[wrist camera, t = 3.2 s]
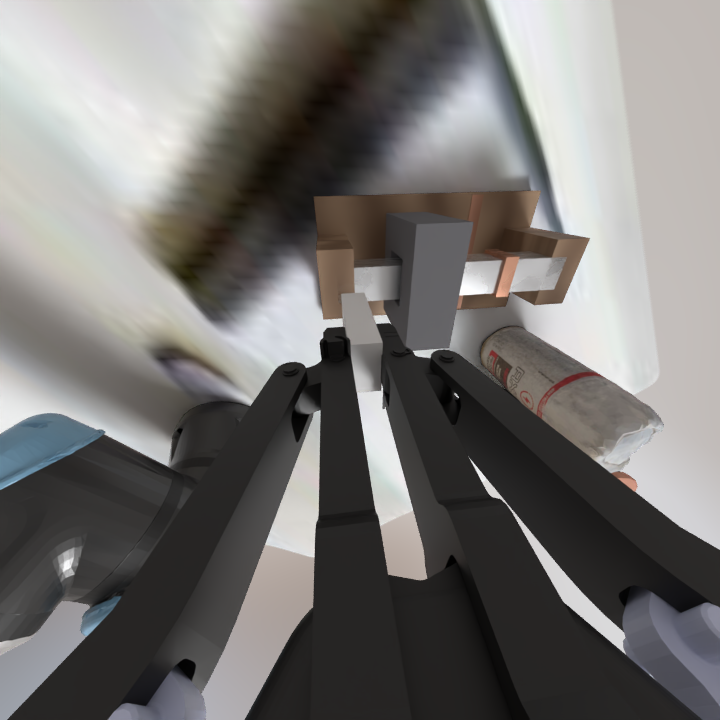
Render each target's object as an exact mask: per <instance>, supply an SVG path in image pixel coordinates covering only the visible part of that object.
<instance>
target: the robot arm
mask: <svg viewBox="0 0 720 720" xmlns="http://www.w3.org/2000/svg"><path fill="white" fill-rule="evenodd" d="M341 300H342V316H343V327H335V328H327V329H326V330H325V331H324V332H323V339H321V341H320V350H321V358H322V360H321V362H319V363H318V364H316V365H315V366H312V367H309V368H306V367H305V366H304V365H303V364H301V363H298V362H289V363H285V364H283V365H281V366H279V367H278V368H277V369H276V370H275V371H274V372H273V374H272V375H271V377H270V378H269V380H268V381H267V383H266V384H265V386H264V387H263V389H262V390H261V392H260V393H259V395H258V396H257V398H256V399H255V400H254V402H253V403H252V405H251V406H250V407H248V406H245V405H241V404H237V403H231V402H212V403H206V404H202V405H199V406H197V407H195V408H193V409H191V410H190V411H188V412H187V413H186V414H185V415H184V416H183V417H182V419H181V420H180V422H179V424H178V425H177V427H176V429H175V431H174V433H173V438H172V444H171V451H170V458H169V465H168V467H167V466H165V465H163V464H162V463H160V462H158V461H156V460H154V459H152V458H150V457H148V456H146V455H144V454H142V453H140V452H138V451H136V450H134V449H132V448H130V447H128V446H126V445H124V444H122V443H120V442H118V441H116V440H114V439H112V438H110V437H108V436H107V435H105V434H104V433H105V431H103V430H100V429H99V430H96V429H94V428H91V427H89V426H87V425H85V424H83V423H80V422H78V421H76V420H74V419H71V418H69V417H67V416H64V415H61V414H55V413H46V414H39V415H35V416H32V417H29V418H27V419H25V420H23V421H21V422H19V423H18V424H16V425H14V426H13V427H11V428H9V429H8V430H6V431H4V432H3V433H1V434H0V655H2V654H4V653H6V652H8V651H9V650H11V649H13V648H15V647H17V646H19V645H21V644H23V643H25V642H26V641H28V640H30V639H31V638H32V637H33V636H34V635H35V634H36V633H37V631H38V630H39V629H40V628H41V626H42V625H43V624H44V622H45V621H46V620H47V619H48V617H49V616H50V614H51V613H52V612H53V610H54V609H55V608H56V607H57V606H58V604H59V603H60V602H61V601H72V602H78V603H83V604H88V605H89V606H90V609H88V610H87V611H86V612H85V613H84V615H83V617H82V620H83V621H82V624H81V629H80V630H81V633H82V634H83V635H84V636H87V635H88V636H87V637H86V638H85V639H84V640H83V641H82V642H81V643H80V644H79V645H78V646H77V648H76V649H75V650H74V651H73V652H72V653H71V654H70V655H69V656H68V657H67V658H66V659H65V660H64V661H63V662H62V663H61V664H60V665H59V666H58V667H57V669H56V670H55V671H54V672H53V673H52V674H51V675H50V676H49V677H48V678H47V679H46V680H45V681H44V682H43V683H42V684H41V685H40V686H39V687H38V688H37V689H36V690H35V692H33V693H32V695H31V696H30V697H29V698H28V699H27V700H26V701H25V702H24V703H23V704H22V705H21V706H20V707H19V708H18V709H17V710H16V711H15V712H14V713H13V714H12V715H11V716H10V717H9V719H8V720H206V709H205V703H204V698H203V696H202V695H201V693H202V691H203V690H204V688H205V686H206V684H207V683H208V681H209V679H210V677H211V675H212V673H213V671H214V669H215V667H216V665H217V663H218V661H219V658H220V657H221V655H222V652H223V651H224V648H225V646H226V643H227V641H228V639H229V637H230V634H231V632H232V629H233V627H234V625H235V622H236V620H237V616H238V614H239V612H240V609H241V606H242V604H243V601H244V599H245V596H246V593H247V591H248V588H249V585H250V583H251V580H252V577H253V575H254V572H255V569H256V567H257V564H258V561H259V559H260V556H261V553H262V551H263V548H264V545H265V543H266V540H267V537H268V535H269V532H270V529H271V527H272V524H273V522H274V519H275V516H276V514H277V511H278V508H279V506H280V503H281V500H282V498H283V495H284V492H285V490H286V487H287V484H288V482H289V479H290V476H291V474H292V471H293V468H294V466H295V463H296V460H297V458H298V455H299V452H300V450H301V447H302V444H303V442H304V439H305V437H306V434H307V431H308V429H309V426H310V423H311V421H312V418H313V412H316V411H319V410H321V423H320V478H319V517H318V521H317V523H316V533H315V564H314V565H315V566H314V602H313V608H312V609H311V610H310V611H309V612H308V613H307V614H306V615H305V616H304V618H303V619H302V620H301V621H300V623H299V624H298V626H297V627H296V629H295V630H294V631H293V633H292V635H291V636H290V638H289V640H288V642H287V643H286V645H285V647H284V649H283V650H282V653H281V654H280V656H279V658H278V660H277V662H276V663H275V665H274V667H273V669H272V671H271V672H270V674H269V676H268V678H267V680H266V682H265V684H264V685H263V687H262V689H261V691H260V693H259V695H258V696H257V698H256V700H255V702H254V704H253V705H252V707H251V709H250V711H249V713H248V715H247V717H246V718H245V720H720V550H719V549H717V548H715V547H714V546H712V545H710V544H709V543H707V542H705V541H703V540H702V539H700V538H698V537H696V536H695V535H693V534H691V533H689V532H688V531H686V530H684V529H683V528H681V527H679V526H678V525H677V524H675V523H674V522H673V521H671V520H670V519H669V518H668V517H666V516H665V515H664V514H663V513H661V512H660V511H658V509H656V508H655V507H654V506H652V505H651V504H650V503H648V502H647V501H646V500H645V499H643V498H642V497H641V496H640V495H638V494H637V493H636V492H634V491H633V490H632V489H631V488H629V487H628V486H627V485H626V484H624V483H623V482H622V481H620V480H619V479H618V478H617V477H615V476H614V475H613V474H611V473H610V472H609V471H608V470H606V469H605V468H604V467H602V466H601V465H600V464H599V463H597V462H596V461H595V460H593V459H592V458H591V457H590V456H588V455H587V454H586V453H585V452H583V451H582V450H581V449H579V448H578V447H577V446H576V445H574V444H573V443H572V442H570V441H569V440H568V439H567V438H565V437H564V436H563V435H561V434H560V433H559V432H558V431H556V430H555V429H554V428H552V427H551V426H550V425H549V424H547V423H546V422H545V421H544V420H542V419H541V418H540V417H538V416H537V415H536V414H535V413H533V412H532V411H531V410H529V409H528V408H527V407H526V406H524V405H523V404H522V403H520V402H519V401H518V400H517V399H515V398H514V397H513V396H511V395H510V394H509V393H508V392H506V391H505V390H504V389H503V388H501V387H500V386H499V385H497V384H496V383H495V382H494V381H492V380H491V379H490V378H488V377H487V376H486V375H485V374H483V373H482V372H481V371H479V370H478V369H477V368H476V367H474V366H473V365H472V364H470V363H469V362H468V361H467V360H465V359H464V358H463V357H462V356H460V355H459V354H457V353H455V352H453V351H450V350H437V351H435V352H433V353H432V355H431V358H423V357H417V356H415V355H414V353H413V351H412V350H411V349H410V348H408V347H405V346H404V344H403V342H402V340H401V338H400V336H399V334H398V332H397V330H396V328H395V327H394V326H393V325H391V324H390V323H384V324H376V323H375V320H374V317H373V315H372V312H371V309H370V307H369V304H368V301H367V298H366V296H365V293H364V292H363V293H345V294H341ZM381 383H382V386H383V409H385V407H386V410H387V414H388V418H389V422H390V425H391V429H392V433H393V436H394V440H395V444H396V448H397V451H398V455H399V459H400V462H401V466H402V470H403V474H404V477H405V481H406V485H407V488H408V492H409V496H410V500H411V503H412V507H413V511H414V514H415V518H416V522H417V526H418V529H419V533H420V537H421V540H422V544H423V548H424V555H425V567H426V573H427V578H428V579H426V580H421V581H420V580H414V579H408V578H403V577H397V576H392V575H388V572H387V566H386V560H385V554H384V547H383V541H382V536H381V529H380V524H379V519H378V515H377V513H376V511H375V506H374V500H373V494H372V487H371V481H370V475H369V468H368V462H367V455H366V449H365V443H364V436H363V430H362V423H361V417H360V411H359V404H358V398H357V393H358V392H369V391H380V390H381ZM454 393H456V394H457V395H458V396H459V398H457V397H456V396H455V395H454ZM468 456H469V457H468ZM469 458H470V459H471V460H472V461H473V463H474V464H475V465H476V466H477V467H478V469H479V470H480V471H481V472H482V473H483V475H484V476H485V477H486V478H487V479H488V481H489V482H490V483H491V484H492V485H493V487H494V488H495V489H496V490H497V492H498V493H499V494H500V495H501V496H502V497H503V499H504V500H505V501H506V502H507V504H508V505H509V506H510V507H511V508H512V510H513V511H514V512H515V513H516V514H517V516H518V517H519V518H520V519H521V521H522V522H523V523H524V524H525V525H526V527H527V528H528V529H529V530H530V531H531V533H532V534H533V535H534V536H535V537H536V539H537V540H538V541H539V542H540V543H541V545H542V546H543V547H544V548H545V549H546V551H547V552H548V553H549V554H550V556H551V557H552V558H553V559H554V560H555V562H556V563H557V564H558V565H559V566H560V568H561V569H562V570H563V571H564V572H565V573H566V575H567V576H568V577H569V578H570V579H571V580H572V581H573V583H574V584H575V585H576V586H577V587H578V588H579V589H580V590H581V592H582V593H583V594H584V595H585V596H586V597H587V598H588V599H589V600H590V601H591V602H592V603H593V604H594V605H595V606H596V607H597V608H599V610H601V612H602V613H603V614H604V615H605V616H607V617H608V618H609V619H610V620H611V621H612V622H613V623H614V624H616V625H617V626H618V627H619V628H620V629H621V630H622V631H623V632H624V633H625V637H626V638H625V639H624V641H623V647H624V650H625V652H626V655H625V654H624V653H623V652H622V651H621V650H619V649H618V648H617V647H616V646H615V645H614V644H612V643H611V642H610V641H609V640H608V639H606V638H605V637H604V636H603V635H602V634H600V633H599V632H598V631H597V630H596V629H595V628H593V627H592V626H591V625H590V624H589V623H588V622H586V621H585V620H584V619H583V618H582V617H580V616H579V615H578V614H577V613H576V612H575V611H573V610H572V609H571V608H570V607H569V606H567V605H566V604H565V603H564V602H563V601H562V599H561V597H560V596H559V594H558V592H557V590H556V589H555V587H554V585H553V584H552V582H551V580H550V578H549V576H548V575H547V573H546V571H545V569H544V568H543V566H542V564H541V563H540V561H539V559H538V557H537V555H536V554H535V552H534V550H533V548H532V547H531V545H530V543H529V542H528V540H527V538H526V536H525V535H524V533H523V531H522V529H521V527H520V526H519V524H518V522H517V521H516V519H515V517H514V516H513V513H512V512H511V511H510V509H509V508H508V506H507V505H506V504H505V503H504V502H503V501H502V500H501V499H497V498H493V497H491V496H490V495H489V494H488V492H487V491H486V489H485V487H484V485H483V483H482V481H481V480H480V478H479V476H478V474H477V472H476V470H475V468H474V466H473V464H472V463H471V461H470V459H469Z"/></svg>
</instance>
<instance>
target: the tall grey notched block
mask: <svg viewBox="0 0 720 720" xmlns="http://www.w3.org/2000/svg"><path fill="white" fill-rule="evenodd" d="M473 223H474V222H471V221H466V220H462V219H457V218H452V217H447V216H443V215H438V214H433V213H429V212H406V213H386V241H385V258H401V259H402V260H403V262H402V277H401V292H400V299H395V300H384V306H383V309H384V311H385V312H386V314H387V316H388V318H389V320H390V322H391V324H392V325H393V326H394V327H395V328H396V330H397V332H398V334H399V336H400V338H401V340H402V342H403V344H404V346H405V347H408V348H410V349H411V350H412V351H416V350H428V349H440V348H449V345H450V340H451V335H452V330H453V325H454V320H455V315H456V310H457V304H458V299H459V294H460V289H461V284H462V279H463V274H464V269H465V264H466V259H467V253H468V248H469V243H470V238H471V233H472V228H473Z"/></svg>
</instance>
